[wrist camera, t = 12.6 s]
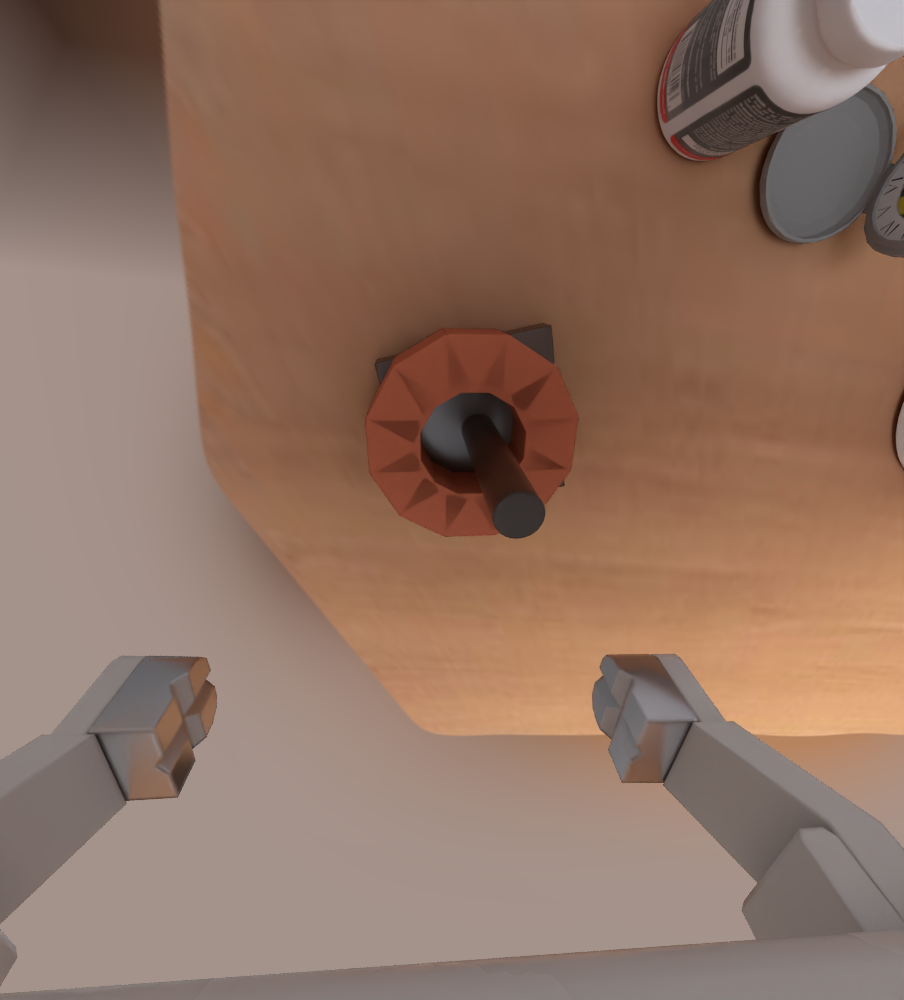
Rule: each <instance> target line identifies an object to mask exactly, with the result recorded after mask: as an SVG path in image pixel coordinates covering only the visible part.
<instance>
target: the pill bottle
mask: <svg viewBox="0 0 904 1000" xmlns="http://www.w3.org/2000/svg"><path fill="white" fill-rule="evenodd" d="M903 55H904V0H712V1H711V2H710V3H709V4H708V5H707V6H706V7H705V8H704V9H703V10H702V11H701V12H700V13H699V14H698V15H697V16H696V17H695V18H694V19H693V20H692V21H691V22H690V23H689V24H688V26H687V27H686V28H685V29H684V30H683V32H682V33H681V34H680V36H679V37H678V39H677V40H676V42H675V43H674V45H673V47H672V48H671V50H670V52H669V54H668V57H667V59H666V61H665V64H664V67H663V70H662V73H661V77H660V81H659V86H658V95H657V109H658V117H659V123H660V126H661V129H662V132H663V134H664V136H665V138H666V140H667V142H668V143H669V145H670V146H671V147H672V148H673V149H674V150H675V151H676V152H677V153H678V154H680V155H682V156H683V157H685V158H688V159H691V160H696V161H708V160H713V159H717V158H720V157H723V156H726V155H728V154H730V153H732V152H734V151H736V150H739V149H741V148H743V147H745V146H747V145H749V144H752V143H754V142H756V141H758V140H761V139H763V138H765V137H767V136H770V135H772V134H774V133H776V132H778V131H781V130H783V129H785V128H787V127H789V126H792V125H794V124H796V123H798V122H801V121H803V120H805V119H807V118H809V117H812V116H814V115H816V114H818V113H821V112H823V111H825V110H828V109H830V108H832V107H834V106H836V105H837V104H839V103H841V102H843V101H845V100H847V99H848V98H850V97H851V96H853V95H854V94H856V93H857V92H859V91H860V90H861V89H863V88H864V87H865V86H866V85H867V84H869V83H870V82H871V81H872V80H873V79H874V78H875V77H876V76H877V75H878V74H879V73H880V72H881V71H882V70H883V69H884V68H885V66H886V65H887V64H888V63H890V62H893V61H894V60H896V59H898V58H900V57H901V56H903Z"/></svg>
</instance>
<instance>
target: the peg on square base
mask: <svg viewBox="0 0 904 1000" xmlns="http://www.w3.org/2000/svg"><path fill="white" fill-rule="evenodd" d="M504 333H506V334H509V335H511V336H512V337H514V338H515V339H517V340H518V341H520V342H521V343H523V344H524V345H526V346H527V347H529V348H530V349H532V350H533V351H535V352H536V353H538V354H539V355H541V356H542V357H544V358H545V359H547V360H548V361H550V362H551V363H553V364H554V365H555V363H554V351H553V339H552V326H551V325H548V324H544V323H542V324H538V325H533V326H528V327H524V328H519V329H515V330H510V331H505V332H504ZM396 356H398V355H395V356H390V357H386V358H381V359H377V360H376V362H375V367H376V371H377V375H378V378H379V382H380V385H381V383H382V381H383V379H384V377H385V375H386V373H387V371H388V369H389V367H390V366H391V364H392V362H393V360H394V358H395V357H396ZM512 428H513V415H512V413H511V411H510V409H509V407H508V405H507V403H506V402H504V401H502V400H501V399H499V398H497V397H496V396H494V395H492V394H491V393H460V394H458V395H456V396H455V397H453V398H451V399H449V400H448V401H446V402H444V403H443V404H441V405H439V406H437V407H436V408H435V409H434V410H433V412H432V414H431V416H430V417H429V419H428V421H427V422H426V424H425V426H424V428H423V429H422V431H421V444H422V446H423V447H424V449H425V451H426V452H427V454H428V455H429V457H430V459H431V460H432V462H434V463H436V464H438V465H440V466H442V467H444V468H445V469H447V470H449V471H451V472H453V473H454V472H475V473H476V476H477V479H478V482H479V484H480V487H481V490H482V493H483V496H484V499H485V501H486V504H487V507H488V510H489V513H490V515H491V518H492V521H493V524H494V526H495V528H496V529H497V531H498V532H499V533H501V534H502V535H504V536H506V537H509V538H515V539H517V538H524V537H527V536H529V535H531V534H533V533H534V532H535V531H537V530H538V529H539V527H540V526H541V525H542V523H543V521H544V517H545V507H544V504H543V502H542V500H541V499H540V497H539V495H538V494H537V492H536V491H535V489H534V487H533V486H532V484H531V483H530V481H529V479H528V478H527V476H526V475H525V473H524V471H523V470H522V468H521V467H520V465H519V463H518V462H517V460H516V459H515V457H514V455H513V454H512V452H511V451H510V449H509V447H508V445H509V443H510V442H511V440H512ZM561 486H564V480H563V482H562V483H561V484H560V486H559V487H561Z"/></svg>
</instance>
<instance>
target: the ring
mask: <svg viewBox="0 0 904 1000" xmlns="http://www.w3.org/2000/svg"><path fill="white" fill-rule="evenodd" d="M460 393H491V394H492V395H494V396H496V397H497V398H499V399H501V400H502V401H504V402H506V403H507V405H508V407H509V409H510V411H511V413H512V415H513V428H512V440H511V442H510V443H509V445H508V447H509V449H510V451H511V452H512V454H513V455H514V457H515V459H516V460H517V462H518V463H519V465H520V467H521V468H522V470H523V471H524V473H525V475H526V476H527V478H528V479H529V481H530V483H531V484H532V486H533V487H534V489H535V491H536V492H537V494H538V495H539V497H540V499H541V500H542V502H543V504H544V506H545V504H546V503H547V502H548V500H549V499H550V498H551V496H552V495H553V494H554V492H555V491H556V490H557V488H558V487H559V486H560V484H561V483H562V482H563V480H564V479H565V478H566V476H567V475H568V474H569V472H570V471H571V466H572V459H573V452H574V446H575V439H576V433H577V426H578V414H577V412H576V410H575V407H574V405H573V403H572V400H571V398H570V395H569V393H568V391H567V388H566V386H565V384H564V381H563V379H562V376H561V374H560V372H559V369H558V368H557V367H556V365H554V364H553V363H551V362H550V361H548V360H547V359H545V358H544V357H542V356H541V355H539V354H538V353H536V352H535V351H533V350H532V349H530V348H529V347H527V346H526V345H524V344H523V343H521V342H520V341H518V340H517V339H515V338H514V337H512V336H511V335H509V334H506V333H504V332H502V331H500V330H496V329H440V330H439V331H437V332H436V333H434V334H432V335H431V336H429V337H427V338H426V339H424V340H422V341H421V342H419V343H417V344H416V345H414V346H413V347H411V348H409V349H408V350H406V351H404V352H403V353H401V354H399V355H398V356H396V357H395V358H394V360H393V362H392V364H391V366H390V367H389V369H388V371H387V373H386V375H385V377H384V379H383V381H382V383H381V385H380V387H379V389H378V391H377V393H376V395H375V397H374V398H373V400H372V402H371V405H370V407H369V410H368V413H367V416H366V420H365V423H366V437H367V450H368V463H369V473H370V475H371V476H372V478H373V479H374V481H375V482H376V483H377V485H378V486H379V488H380V489H381V490H382V492H383V493H384V495H385V496H386V497H387V499H388V500H389V502H390V503H391V504H392V506H393V507H394V509H395V510H396V511H397V513H398V514H399V515H400V516H402V517H404V518H406V519H408V520H410V521H412V522H414V523H417V524H419V525H421V526H423V527H425V528H427V529H429V530H431V531H434V532H436V533H438V534H440V535H442V536H445V537H451V536H483V535H496V534H498V533H499V532H498V531H497V529H496V528H495V526H494V524H493V521H492V518H491V515H490V513H489V510H488V507H487V504H486V501H485V499H484V496H483V493H482V490H481V487H480V484H479V482H478V479H477V476H476V473H475V472H454V473H453V472H451V471H449V470H447V469H445V468H444V467H442V466H440V465H438V464H436V463H434V462H432V460H431V459H430V457H429V455H428V454H427V452H426V451H425V449H424V447H423V446H422V444H421V431H422V429H423V428H424V426H425V424H426V422H427V421H428V419H429V417H430V416H431V414H432V412H433V410H434V409H435V408H436V407H437V406H439V405H441V404H443V403H444V402H446V401H448V400H449V399H451V398H453V397H455V396H456V395H458V394H460Z"/></svg>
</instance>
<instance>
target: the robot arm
mask: <svg viewBox="0 0 904 1000" xmlns="http://www.w3.org/2000/svg"><path fill="white" fill-rule="evenodd" d="M896 449H897V454H898V457H899V460H900V462H901V464H902V466H903V468H904V402H903V405H902V408H901V411H900V414H899V418H898V422H897V429H896ZM600 670H601V672H602V674H603V676H602V677H601V678H600V679H599V680H597V681H596V682H595V684H594V688H593V692H592V704H593V711H594V715H595V718H596V721H597V724H598V726H599V729H600V730H601V731H602V732H604V733H605V734H606V735H607V736H608V737H609V738H610V739H611V742H610V745H609V749H608V750H609V753H610V755H611V757H612V760H613V762H614V765H615V767H616V770H617V772H618V774H619V777H620V779H621V782H622V783H664V784H663V786H665V787H666V789H667V790H668V791H669V792H670V793H671V794H672V795H673V796H674V797H675V798H676V799H677V800H678V801H679V802H680V803H681V804H682V805H683V806H684V807H685V808H686V809H687V810H688V811H689V812H690V813H691V815H692V816H693V817H695V819H696V820H697V821H698V822H699V823H700V824H701V825H702V826H703V827H704V828H705V829H706V830H707V831H708V832H709V833H710V834H711V835H712V836H713V837H714V838H715V839H716V840H717V841H718V842H719V843H720V845H721V846H722V847H723V848H724V849H725V850H726V851H727V852H728V853H729V854H730V855H731V856H732V857H733V858H734V859H735V860H736V861H737V862H738V863H739V864H740V865H741V866H742V867H743V868H744V869H745V870H746V871H747V873H749V875H750V876H751V877H752V878H753V879H754V880H755V881H756V882H757V885H756V886H755V887H754V889H753V890H752V891H751V892H750V894H749V895H748V896H747V898H746V899H745V900H744V903H743V907H742V912H743V914H744V916H745V918H746V920H747V922H748V924H749V926H750V928H751V930H752V932H753V934H754V936H755V938H756V940H745V941H731V942H718V943H704V944H690V945H676V946H661V947H647V948H633V949H619V950H605V951H591V952H576V953H563V954H550V955H549V954H548V955H535V956H520V957H506V958H492V959H478V960H464V961H450V962H437V963H422V964H408V965H394V966H380V967H366V968H352V969H338V970H324V971H310V972H296V973H282V974H268V975H254V976H240V977H226V978H212V979H198V980H184V981H171V982H157V983H142V984H129V985H116V986H102V987H101V986H100V987H87V988H73V989H59V990H45V991H30V992H17V993H3V994H0V1000H904V848H903V847H902V846H901V845H900V843H899V842H898V841H897V840H896V839H895V838H894V836H893V835H892V834H891V833H890V832H889V831H888V830H887V828H886V827H885V826H884V825H883V824H882V823H881V822H880V821H878V820H877V819H875V818H874V817H872V816H871V815H869V814H868V813H867V812H865V811H864V810H862V809H860V808H859V807H858V806H856V805H855V804H853V803H852V802H851V801H849V800H848V799H846V798H845V797H843V796H842V795H840V794H839V793H837V792H836V791H834V790H833V789H832V788H830V787H829V786H827V785H826V784H824V783H823V782H821V781H819V780H818V779H817V778H815V777H814V776H812V775H811V774H810V773H808V772H807V771H805V770H803V769H802V768H801V767H799V766H798V765H796V764H795V763H793V762H792V761H791V760H789V759H787V758H786V757H785V756H783V755H782V754H780V753H778V752H777V751H776V750H774V749H773V748H771V747H770V746H768V745H767V744H765V743H764V742H763V741H761V740H760V739H758V738H757V737H755V736H754V735H752V734H751V733H750V732H748V731H747V730H745V729H744V728H742V727H741V726H739V725H738V724H736V723H735V722H733V721H726V720H725V719H724V718H723V716H722V715H721V713H720V712H719V711H718V709H717V708H716V707H715V705H714V704H713V702H712V701H711V700H710V698H709V697H708V695H707V694H706V693H705V691H704V690H703V688H702V687H701V686H700V684H699V683H698V681H697V680H696V679H695V677H694V676H693V674H692V673H691V672H690V670H689V669H688V668H687V666H686V665H685V663H684V662H683V661H682V659H681V658H680V657H678V656H677V655H676V654H651V655H650V654H619V655H606V656H605V657H604V658H603V659H602V662H601V665H600ZM209 672H210V667H209V663H208V660H207V658H204V657H182V656H179V657H178V656H120V657H118V658H117V659H115V660H113V661H112V662H111V663H110V664H109V665H108V666H107V668H106V669H105V670H104V671H103V672H102V674H101V675H100V676H99V677H98V678H97V680H96V681H95V682H94V683H93V684H92V686H91V687H90V688H89V689H88V690H87V692H86V693H85V694H84V695H83V696H82V698H81V699H80V700H79V701H78V702H77V704H76V705H75V706H74V707H73V708H72V710H71V711H70V712H69V713H68V715H67V716H66V717H65V718H64V719H63V720H62V722H61V723H60V724H59V725H58V727H57V728H56V729H55V730H54V731H53V733H52V734H51V735H41V736H39V737H37V738H36V739H34V740H32V741H31V742H29V743H28V744H26V745H24V746H23V747H21V748H19V749H18V750H16V751H14V752H13V753H11V754H10V755H8V756H6V757H5V758H3V759H1V760H0V924H1V922H3V921H4V920H5V919H6V918H7V917H8V916H9V915H10V914H11V913H12V912H13V911H14V910H15V909H16V908H18V907H19V906H20V905H21V904H22V903H23V902H24V901H25V900H26V899H27V898H28V897H29V896H30V895H31V894H32V893H33V892H34V891H35V890H36V889H37V888H39V886H41V885H42V884H43V883H44V882H45V881H46V880H47V879H48V878H49V877H50V876H51V875H52V874H53V873H54V872H55V871H56V870H57V869H58V868H60V867H61V866H62V864H64V863H65V862H66V861H67V860H68V859H69V858H70V857H71V856H72V855H73V854H74V853H75V852H76V851H77V850H78V849H79V848H81V847H82V846H83V845H84V844H85V843H86V842H87V841H88V840H89V839H90V838H91V837H92V836H93V835H94V834H95V833H96V832H97V831H98V830H99V829H100V828H102V827H103V826H104V825H105V824H106V823H107V822H108V821H109V820H110V819H111V818H112V817H113V816H114V815H115V814H116V813H117V812H118V811H119V810H120V809H122V808H123V807H124V806H125V805H126V801H129V800H146V799H161V798H176V797H178V796H179V794H180V792H181V790H182V787H183V785H184V783H185V781H186V779H187V777H188V775H189V773H190V771H191V769H192V766H193V765H194V762H195V757H194V753H193V750H192V749H193V748H194V747H195V746H196V745H198V744H199V743H200V742H201V741H202V740H204V739H205V738H206V737H207V735H208V733H209V730H210V728H211V726H212V724H213V720H214V716H215V712H216V708H217V695H216V690H215V686H213V685H212V684H211V683H210V682H209V681H207V680H206V678H207V676H208V674H209ZM16 959H17V953H16V946H15V945H14V944H13V943H12V942H11V941H10V940H9V939H8V937H7V936H6V935H5V934H4V933H3V932H2V931H1V930H0V986H1V984H2V982H3V981H4V979H5V977H6V976H7V974H8V972H9V970H10V969H11V967H12V965H13V964H14V962H15V960H16Z"/></svg>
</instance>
